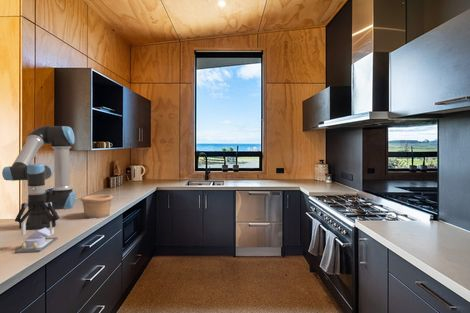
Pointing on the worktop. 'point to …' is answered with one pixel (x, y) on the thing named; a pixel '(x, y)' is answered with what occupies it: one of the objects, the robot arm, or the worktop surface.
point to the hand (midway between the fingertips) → (38, 234)
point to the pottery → (96, 205)
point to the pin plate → (35, 248)
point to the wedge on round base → (37, 238)
